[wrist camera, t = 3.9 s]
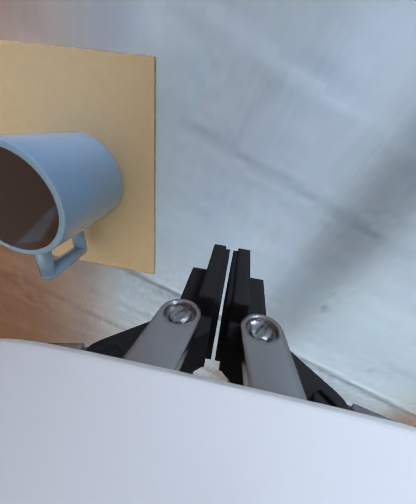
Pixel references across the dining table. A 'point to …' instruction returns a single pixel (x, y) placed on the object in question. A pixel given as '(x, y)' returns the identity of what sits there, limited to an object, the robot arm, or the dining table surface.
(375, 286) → the dining table surface
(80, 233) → the mug
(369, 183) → the dining table surface
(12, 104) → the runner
